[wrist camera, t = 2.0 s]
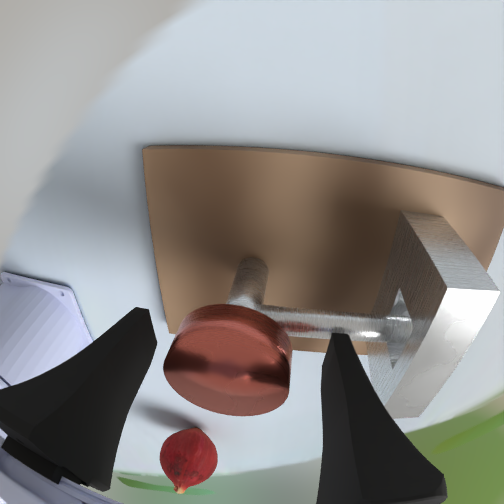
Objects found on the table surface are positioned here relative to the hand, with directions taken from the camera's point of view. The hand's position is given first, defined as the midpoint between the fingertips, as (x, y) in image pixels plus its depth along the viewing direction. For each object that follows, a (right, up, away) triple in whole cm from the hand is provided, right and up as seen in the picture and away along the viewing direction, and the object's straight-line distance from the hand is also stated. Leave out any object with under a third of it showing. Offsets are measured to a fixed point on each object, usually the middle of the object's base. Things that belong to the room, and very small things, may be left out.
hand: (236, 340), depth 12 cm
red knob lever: (+5, +2, +4) cm, 6 cm away
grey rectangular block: (+9, +2, +4) cm, 10 cm away
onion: (-5, -15, +17) cm, 24 cm away
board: (+5, +3, +5) cm, 7 cm away
